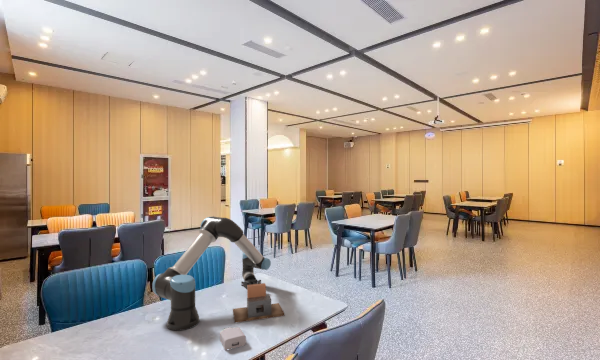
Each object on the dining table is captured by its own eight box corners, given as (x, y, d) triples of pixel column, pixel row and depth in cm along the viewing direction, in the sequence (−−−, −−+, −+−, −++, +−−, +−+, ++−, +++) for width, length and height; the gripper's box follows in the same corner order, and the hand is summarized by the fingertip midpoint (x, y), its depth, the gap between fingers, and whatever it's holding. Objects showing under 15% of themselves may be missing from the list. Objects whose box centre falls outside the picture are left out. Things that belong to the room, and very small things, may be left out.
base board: (234, 322, 156) (234, 319, 156) (232, 311, 169) (232, 308, 169) (284, 315, 163) (284, 313, 163) (278, 305, 177) (278, 303, 177)
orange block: (249, 313, 163) (248, 290, 163) (247, 306, 172) (247, 285, 172) (267, 310, 166) (267, 288, 166) (265, 304, 174) (264, 283, 174)
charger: (236, 330, 148) (245, 345, 135) (216, 335, 144) (224, 351, 130) (236, 321, 148) (245, 334, 135) (216, 325, 144) (224, 340, 130)
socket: (248, 317, 158) (248, 302, 158) (247, 313, 164) (246, 298, 164) (271, 314, 161) (271, 299, 161) (269, 310, 167) (269, 295, 167)
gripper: (259, 283, 206) (265, 296, 183) (240, 286, 202) (243, 299, 179) (259, 272, 206) (265, 283, 183) (239, 274, 202) (243, 286, 179)
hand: (254, 291), depth 181 cm, fingers closed
